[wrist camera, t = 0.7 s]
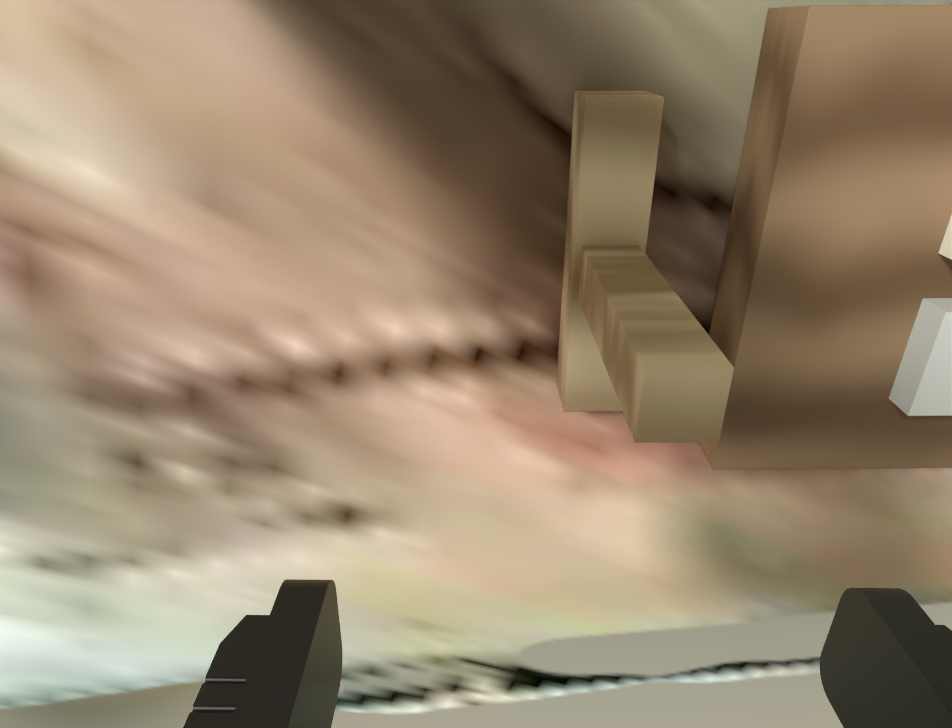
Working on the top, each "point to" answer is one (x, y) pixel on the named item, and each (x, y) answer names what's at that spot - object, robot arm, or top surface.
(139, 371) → the top surface
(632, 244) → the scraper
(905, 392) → the grey tile
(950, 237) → the cream tile
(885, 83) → the walnut plate
